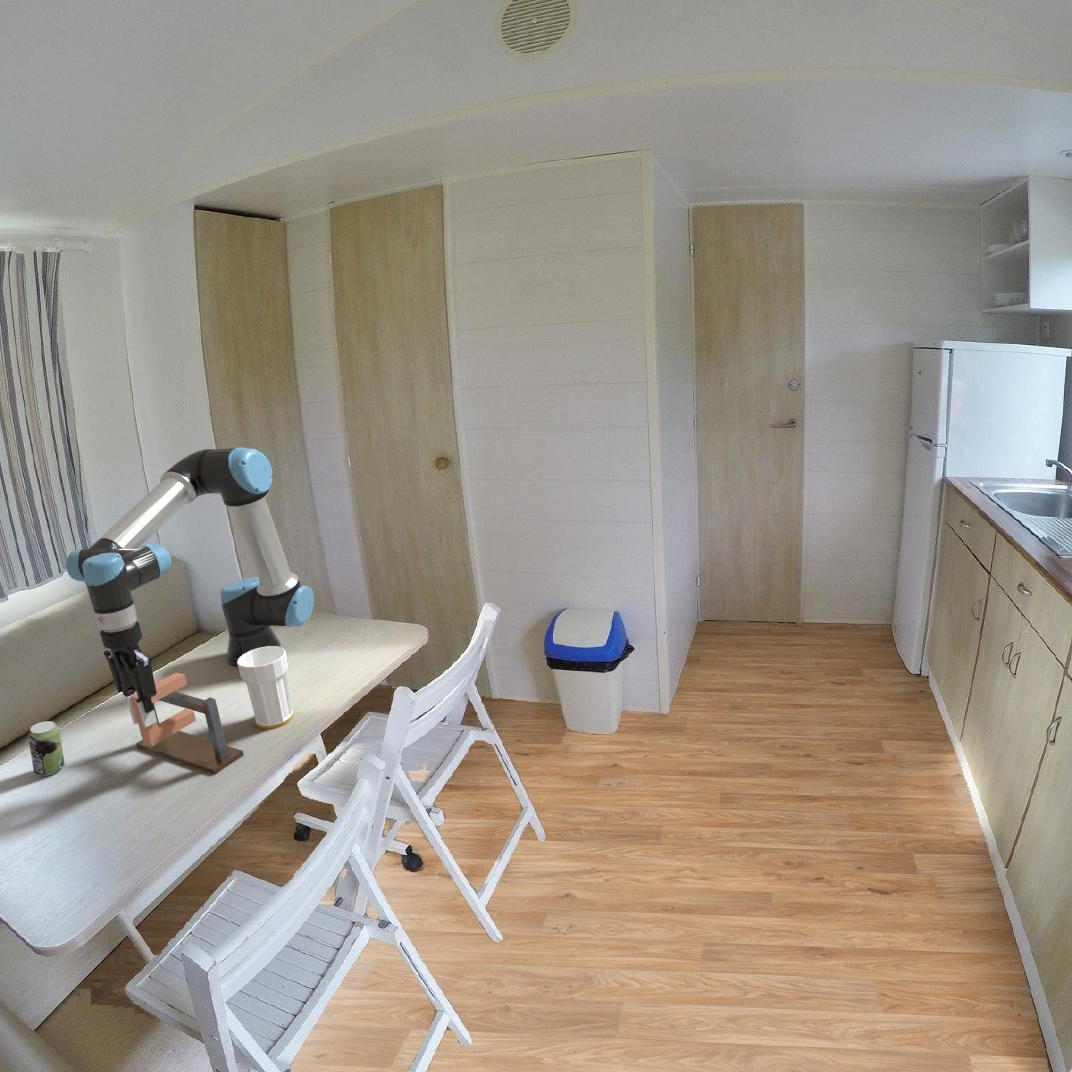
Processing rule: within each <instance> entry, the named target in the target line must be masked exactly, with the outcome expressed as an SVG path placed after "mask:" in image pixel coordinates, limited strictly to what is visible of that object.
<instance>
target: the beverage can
mask: <svg viewBox="0 0 1072 1072" xmlns="http://www.w3.org/2000/svg"><path fill="white" fill-rule="evenodd" d="M60 730H61V729H60V727H59V726H58V725H56V722H54V721H51V720H45V721H40V722H36V723H35V724H33V725H32V726H31V727H30V729H29V731H28V733H27V738H28V743H29V744H28V745H29V750H30V756H31V762H32V768H33V772H34V773H35V774H36V775H38V776H43V777H45V776H51V775H54V774H56V773H58V772H60V770H62V769H63V768H64V767H65V758H64V752H63V746H62V745H63V744H62V737H61V731H60Z"/></svg>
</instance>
